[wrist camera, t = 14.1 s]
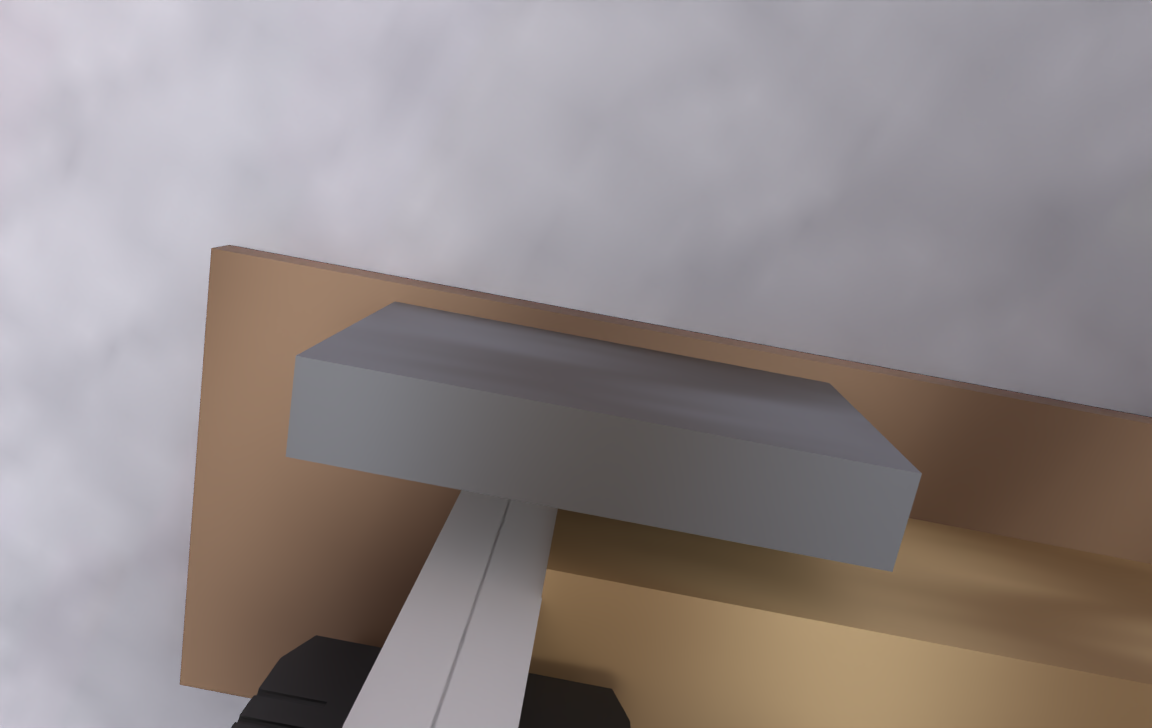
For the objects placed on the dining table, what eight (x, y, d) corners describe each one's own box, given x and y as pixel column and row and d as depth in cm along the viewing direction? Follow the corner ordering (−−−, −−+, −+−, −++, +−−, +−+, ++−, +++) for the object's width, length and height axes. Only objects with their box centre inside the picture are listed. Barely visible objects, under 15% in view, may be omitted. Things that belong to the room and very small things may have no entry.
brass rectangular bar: (1416, 614, 13) (1755, 800, 9) (1330, 794, 14) (1607, 1034, 10) (568, 453, 13) (546, 569, 9) (532, 640, 14) (499, 819, 10)
